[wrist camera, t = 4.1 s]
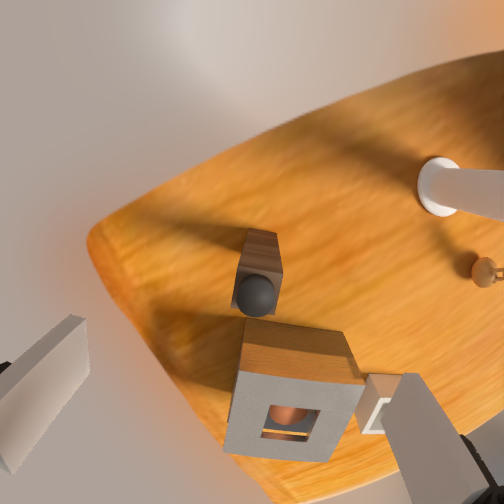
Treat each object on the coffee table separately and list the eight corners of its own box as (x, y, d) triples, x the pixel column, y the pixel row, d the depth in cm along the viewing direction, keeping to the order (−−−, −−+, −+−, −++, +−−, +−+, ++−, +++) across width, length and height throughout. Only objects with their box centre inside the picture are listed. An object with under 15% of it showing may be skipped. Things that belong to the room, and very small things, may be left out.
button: (273, 364, 35) (274, 396, 29) (306, 368, 35) (312, 400, 29) (266, 389, 36) (266, 422, 30) (298, 393, 36) (302, 426, 30)
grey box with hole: (246, 317, 37) (239, 370, 27) (342, 332, 37) (365, 385, 27) (231, 393, 40) (222, 452, 29) (316, 404, 40) (327, 462, 29)
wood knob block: (249, 228, 35) (235, 272, 19) (276, 233, 35) (284, 281, 19) (244, 254, 35) (228, 317, 20) (271, 259, 35) (274, 325, 20)
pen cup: (368, 373, 39) (380, 397, 33) (408, 375, 39) (422, 397, 33) (353, 408, 40) (361, 433, 35) (391, 409, 40) (402, 433, 35)
